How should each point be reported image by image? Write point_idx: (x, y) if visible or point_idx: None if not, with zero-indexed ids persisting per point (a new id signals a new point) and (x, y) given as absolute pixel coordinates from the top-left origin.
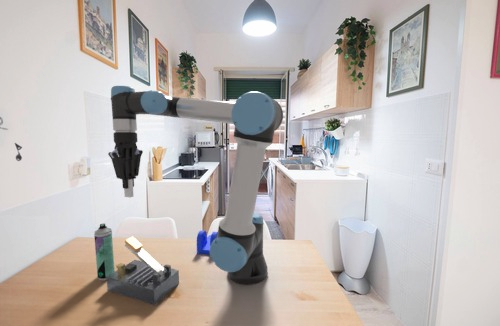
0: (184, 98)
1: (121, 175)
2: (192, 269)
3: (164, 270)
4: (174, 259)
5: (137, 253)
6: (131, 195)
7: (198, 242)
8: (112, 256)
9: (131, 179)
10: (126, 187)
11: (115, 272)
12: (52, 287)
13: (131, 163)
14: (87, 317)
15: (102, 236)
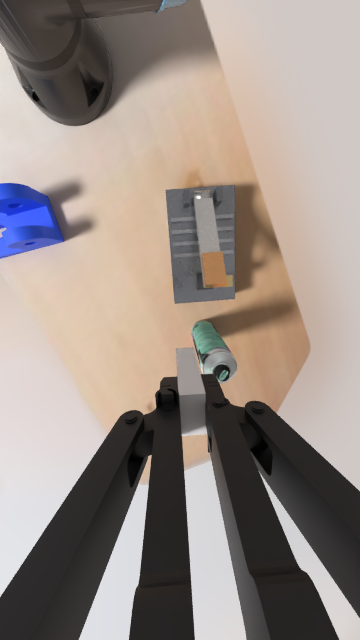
0: None
1: (276, 418)
2: (118, 206)
3: (199, 191)
4: (108, 268)
5: (218, 249)
6: (186, 350)
7: (48, 234)
8: (202, 332)
9: (187, 393)
10: (211, 376)
11: (220, 297)
12: (251, 370)
13: (182, 522)
14: (277, 266)
15: (229, 351)
